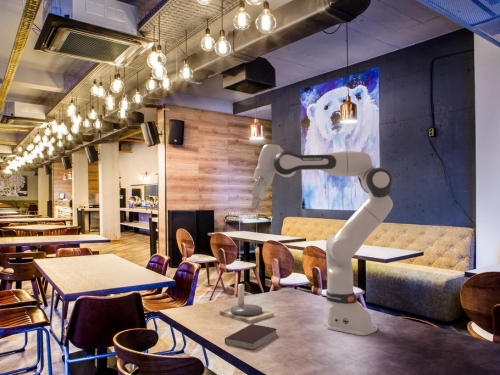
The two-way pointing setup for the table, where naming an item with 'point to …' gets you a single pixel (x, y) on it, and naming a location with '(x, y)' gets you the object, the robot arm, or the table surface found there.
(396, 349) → the table surface
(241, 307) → the grey post stand
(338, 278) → the robot arm
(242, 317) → the plate
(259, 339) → the book
